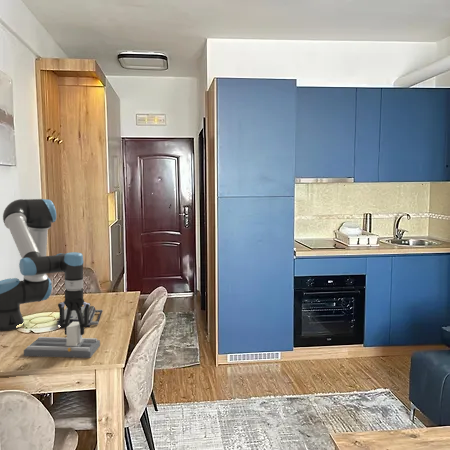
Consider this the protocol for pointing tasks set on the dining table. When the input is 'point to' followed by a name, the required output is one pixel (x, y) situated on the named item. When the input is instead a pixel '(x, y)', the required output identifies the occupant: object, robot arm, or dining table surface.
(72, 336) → the fader tab
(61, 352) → the grey slider base
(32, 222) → the robot arm
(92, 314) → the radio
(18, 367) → the dining table surface
